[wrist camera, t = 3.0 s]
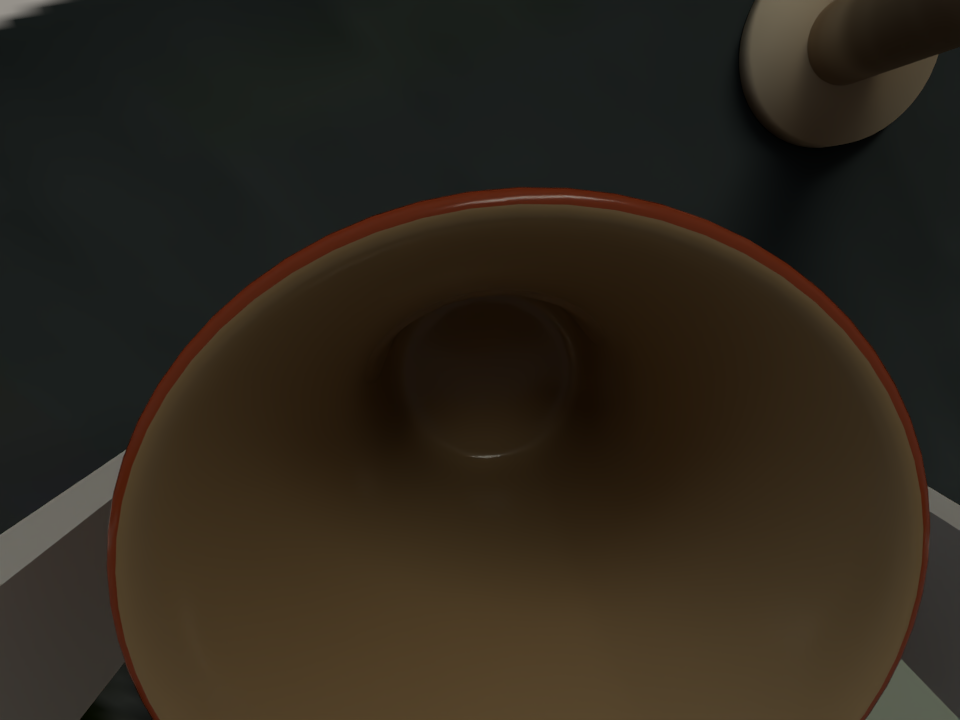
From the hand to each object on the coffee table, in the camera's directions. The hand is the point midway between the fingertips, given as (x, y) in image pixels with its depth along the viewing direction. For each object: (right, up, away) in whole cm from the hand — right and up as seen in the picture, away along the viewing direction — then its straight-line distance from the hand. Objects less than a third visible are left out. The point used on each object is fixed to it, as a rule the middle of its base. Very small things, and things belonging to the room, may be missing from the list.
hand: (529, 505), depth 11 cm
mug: (-1, +1, +5) cm, 6 cm away
